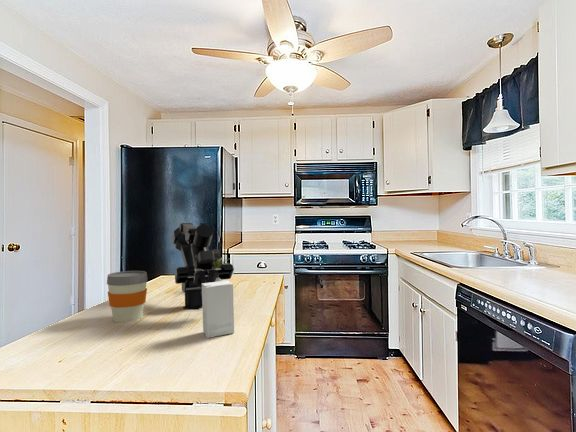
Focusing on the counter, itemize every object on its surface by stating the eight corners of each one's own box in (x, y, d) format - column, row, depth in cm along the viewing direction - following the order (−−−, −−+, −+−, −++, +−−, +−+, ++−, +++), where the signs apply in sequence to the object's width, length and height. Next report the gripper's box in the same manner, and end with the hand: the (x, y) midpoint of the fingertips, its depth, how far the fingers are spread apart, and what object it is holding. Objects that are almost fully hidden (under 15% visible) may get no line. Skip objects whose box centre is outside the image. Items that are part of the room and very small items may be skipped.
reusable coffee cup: (156, 315, 122) (155, 272, 122) (125, 325, 111) (125, 278, 111) (129, 311, 128) (129, 269, 127) (98, 321, 116) (97, 275, 116)
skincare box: (229, 328, 108) (228, 279, 108) (235, 334, 103) (234, 283, 103) (201, 332, 105) (201, 282, 105) (206, 338, 99) (205, 285, 99)
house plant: (227, 294, 154) (227, 256, 154) (196, 294, 154) (195, 256, 154) (233, 287, 168) (233, 252, 168) (204, 287, 168) (204, 253, 168)
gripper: (175, 242, 114) (182, 282, 104) (232, 240, 122) (242, 277, 112) (172, 263, 121) (178, 303, 111) (225, 260, 129) (235, 296, 119)
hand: (209, 294), depth 113 cm, fingers closed
